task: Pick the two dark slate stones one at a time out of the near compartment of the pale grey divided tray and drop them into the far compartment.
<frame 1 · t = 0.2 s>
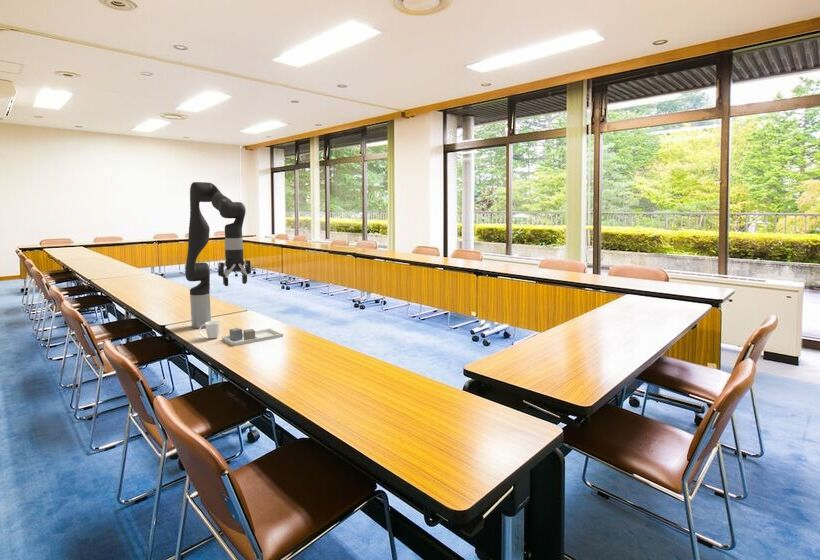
hand: (235, 284, 205), 28 cm above the table, fingers open, 8 cm apart
stone a: (236, 339, 216), resting on divided tray
divided tray: (253, 339, 219), on the table
stone b: (249, 340, 215), resting on divided tray
cup: (210, 339, 218), on the table
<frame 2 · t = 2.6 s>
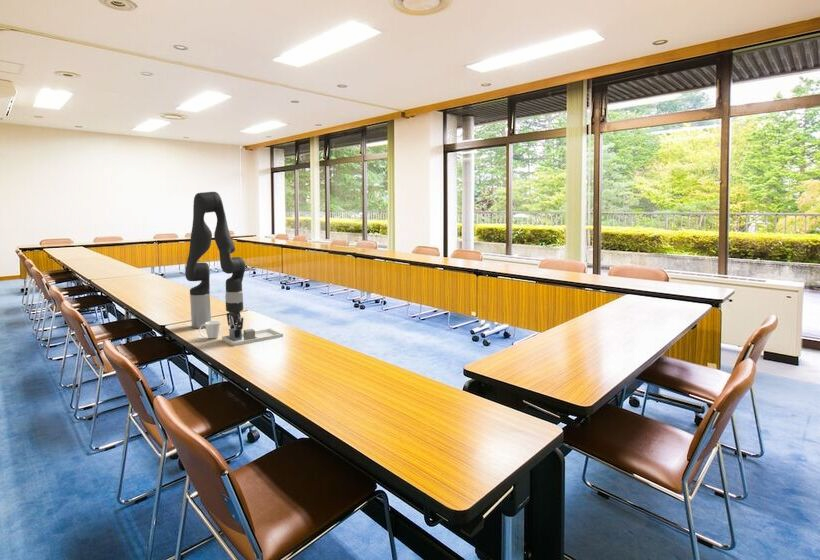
hand: (235, 336, 216), 2 cm above the table, fingers closed on stone a, 4 cm apart
stone a: (235, 339, 216), point 1 cm above the table, touching divided tray, gripper
everything else where it was.
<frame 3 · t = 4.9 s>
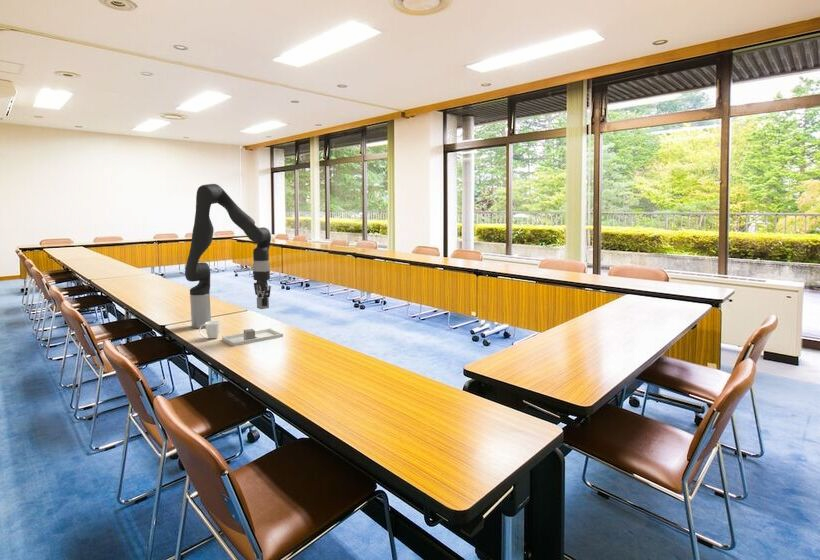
hand: (262, 304, 222), 15 cm above the table, fingers closed on stone a, 4 cm apart
stone a: (263, 307, 223), point 14 cm above the table, touching gripper
everything else where it was.
when the fingers open (3 cm above the table, at t = 7.2 s): stone a drops 1 cm, resting on divided tray.
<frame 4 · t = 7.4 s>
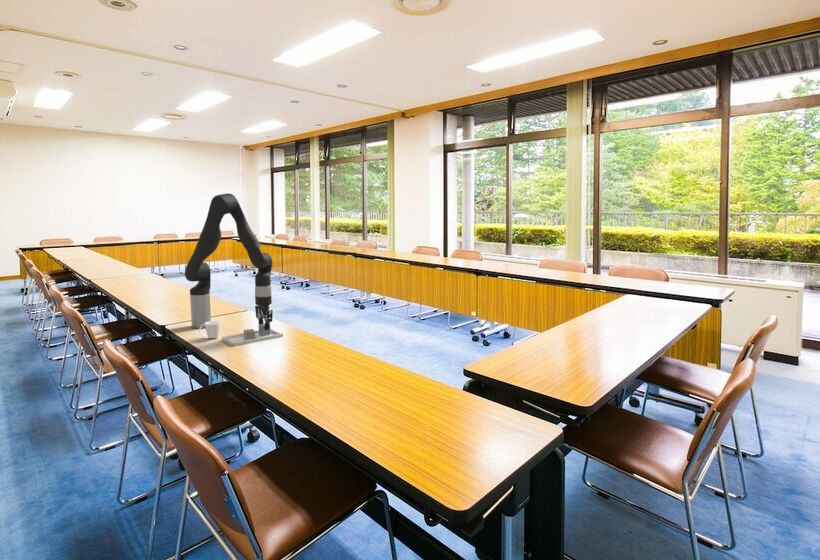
hand: (264, 328, 225), 4 cm above the table, fingers open, 6 cm apart
stone a: (264, 334, 225), resting on divided tray
everything else where it was.
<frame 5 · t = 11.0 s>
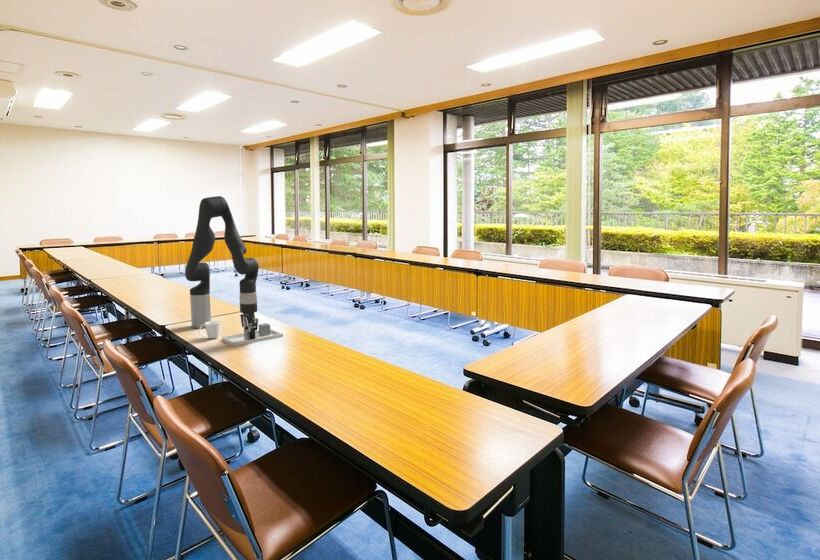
hand: (249, 337, 214), 2 cm above the table, fingers open, 4 cm apart
stone b: (249, 340, 214), point 1 cm above the table, touching divided tray, gripper
everything else where it was.
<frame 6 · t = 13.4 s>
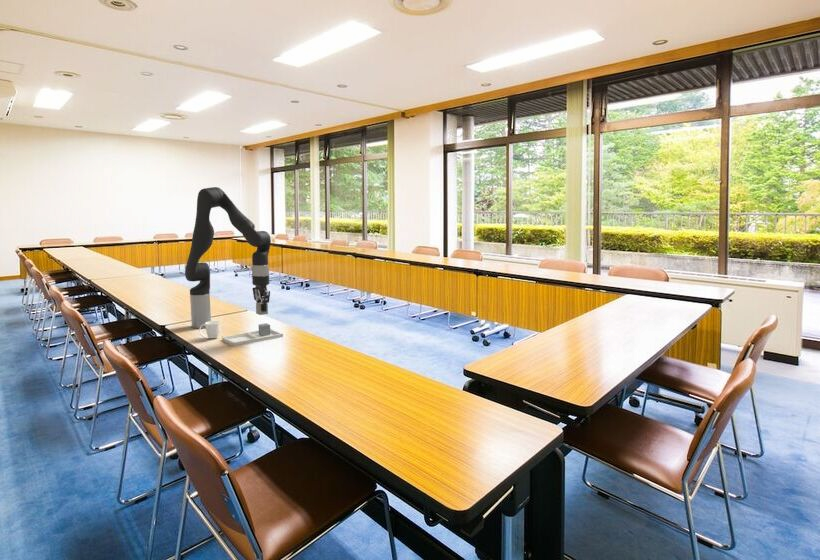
hand: (261, 310, 217), 14 cm above the table, fingers closed on stone b, 4 cm apart
stone b: (261, 313, 217), point 12 cm above the table, touching gripper
everything else where it was.
when the fingers open (3 cm above the table, at t = 15.3 s): stone b drops 1 cm, resting on divided tray.
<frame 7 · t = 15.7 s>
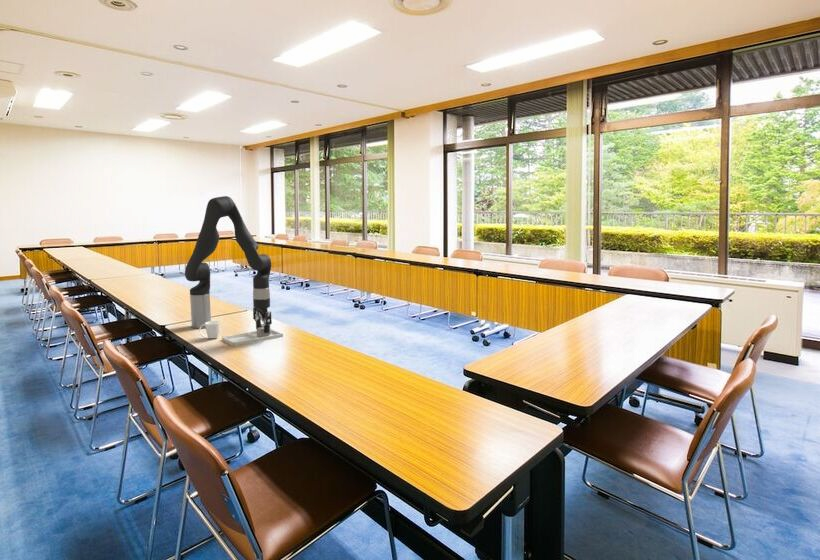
hand: (262, 331, 218), 4 cm above the table, fingers open, 8 cm apart
stone b: (262, 338, 219), resting on divided tray
everything else where it was.
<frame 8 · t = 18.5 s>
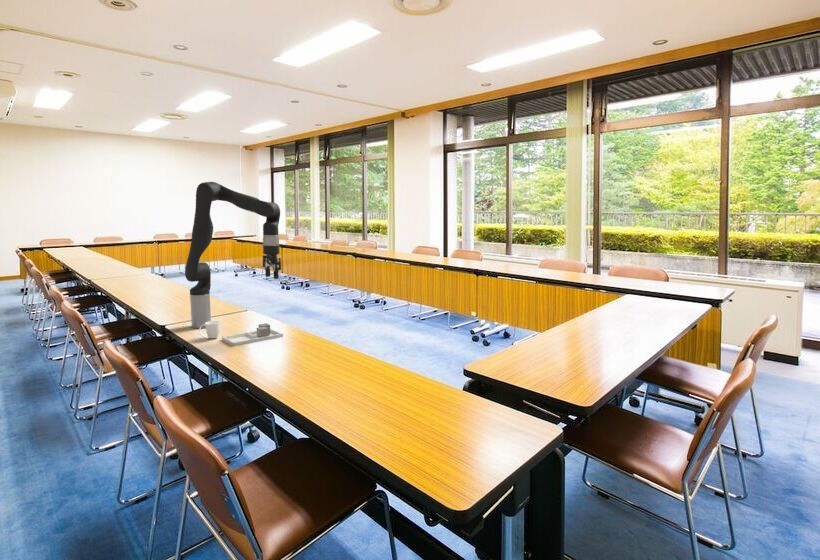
hand: (272, 277, 225), 28 cm above the table, fingers open, 8 cm apart
nothing on the table moved.
at the end: stone a inside the target area on the divided tray (2.6 cm from its centre), point 0.5 cm above the divided tray's base; stone b inside the target area on the divided tray (4.0 cm from its centre), point 0.5 cm above the divided tray's base; the gripper is holding nothing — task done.
